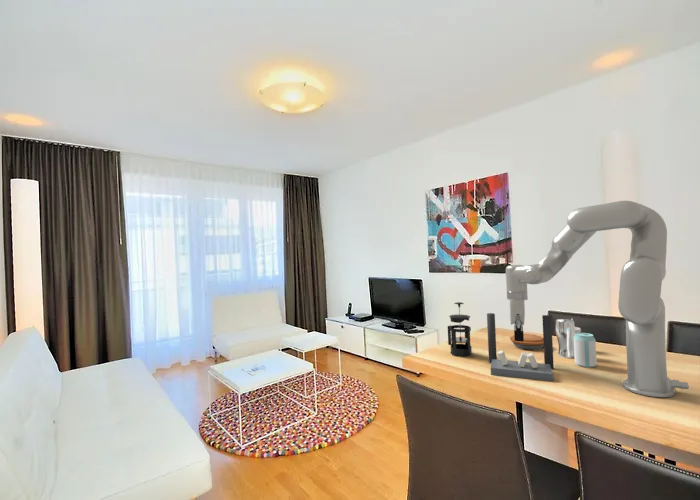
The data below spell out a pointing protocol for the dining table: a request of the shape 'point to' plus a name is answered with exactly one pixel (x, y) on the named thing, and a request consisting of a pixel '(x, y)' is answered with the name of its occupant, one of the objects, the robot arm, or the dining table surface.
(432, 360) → the dining table surface
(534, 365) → the paddle
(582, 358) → the can
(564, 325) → the beer glass
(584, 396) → the dining table surface
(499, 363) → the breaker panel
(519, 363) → the middle paddle
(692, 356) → the dining table surface
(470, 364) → the dining table surface
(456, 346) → the french press
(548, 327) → the rod
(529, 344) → the pie
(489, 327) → the rod
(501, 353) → the paddle
